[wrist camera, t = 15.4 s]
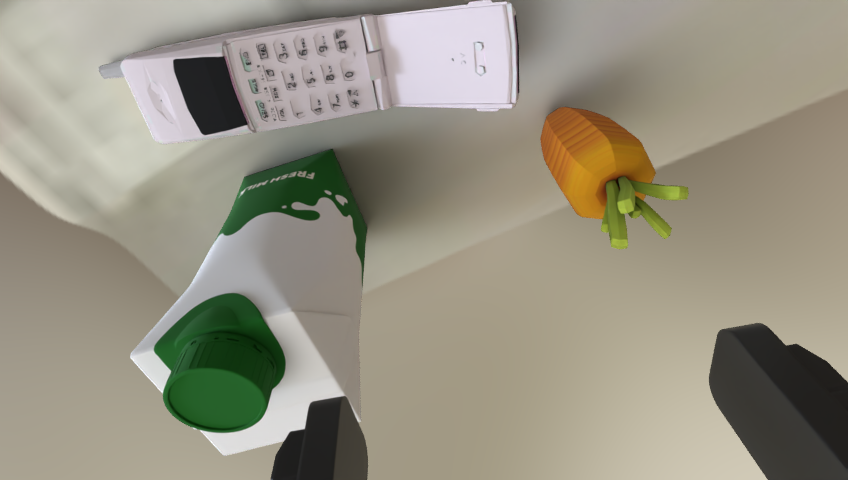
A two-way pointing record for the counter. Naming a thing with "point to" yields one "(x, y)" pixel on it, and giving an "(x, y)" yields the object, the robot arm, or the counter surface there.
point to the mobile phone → (326, 71)
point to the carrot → (603, 171)
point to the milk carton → (267, 311)
